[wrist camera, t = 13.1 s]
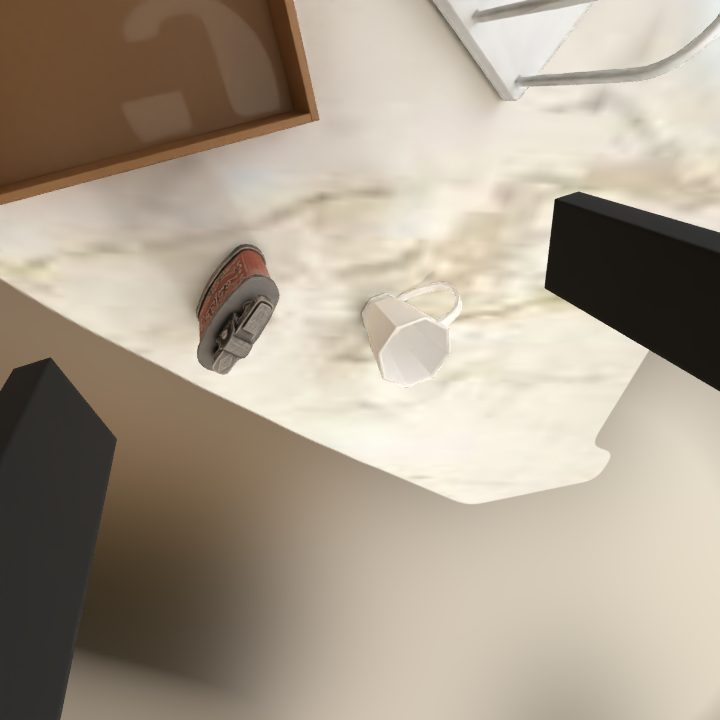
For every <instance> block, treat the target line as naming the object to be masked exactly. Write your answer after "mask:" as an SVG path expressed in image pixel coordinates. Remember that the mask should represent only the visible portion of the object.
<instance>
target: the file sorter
mask: <svg viewBox="0 0 720 720" xmlns="http://www.w3.org/2000/svg"><path fill="white" fill-rule="evenodd" d="M594 1H596V0H433V2H434V3H435V4H436V6H437V7H438V9H439V10H440V11H441V13H442V14H443V16H444V17H445V18H446V20H447V21H448V23H449V24H450V25H451V27H452V28H453V30H454V31H455V32H456V34H457V35H458V37H459V38H460V39H461V41H462V42H463V44H464V45H465V47H466V48H467V49H468V51H469V52H470V54H471V55H472V56H473V58H474V59H475V61H476V62H477V63H478V65H479V66H480V68H481V69H482V71H483V72H484V73H485V75H486V76H487V78H488V79H489V81H490V82H491V83H492V85H493V86H494V88H495V89H496V90H497V92H498V93H499V95H500V96H501V97H502V99H503V100H504V101H517V100H519V99H520V98H521V97H522V95H523V94H524V93H525V91H526V90H527V89H528V88H529V87H530V86H555V85H579V84H600V83H619V82H633V81H642V80H647V79H651V78H654V77H657V76H660V75H663V74H665V73H667V72H669V71H671V70H673V69H675V68H677V67H679V66H680V65H682V64H683V63H685V62H687V61H688V60H690V59H691V58H693V57H694V56H695V55H697V54H698V53H699V52H700V51H702V50H703V49H704V48H706V47H707V46H708V45H709V44H710V43H711V42H712V41H713V40H714V39H715V38H716V37H717V36H718V35H719V34H720V14H719V15H718V17H717V18H716V19H715V20H714V21H713V22H712V23H711V24H710V25H709V26H708V27H707V28H706V29H705V30H704V31H703V32H702V33H701V34H700V35H699V36H698V37H696V38H695V39H694V40H693V41H691V42H690V43H689V44H688V45H686V46H685V47H684V48H682V49H681V50H680V51H678V52H677V53H675V54H673V55H672V56H670V57H668V58H666V59H664V60H661V61H659V62H657V63H654V64H651V65H648V66H643V67H636V68H626V69H611V70H601V71H591V72H575V73H564V74H548V75H538V74H539V73H540V72H541V71H542V69H543V68H544V67H545V65H546V64H547V63H548V61H549V60H550V59H551V57H552V56H553V55H554V54H555V52H556V51H557V50H558V48H559V47H560V46H561V44H562V43H563V42H564V40H565V39H566V38H567V36H568V35H569V34H570V32H571V31H572V30H573V28H574V27H575V26H576V25H577V23H578V22H579V21H580V19H581V18H582V17H583V15H584V14H585V13H586V11H587V10H588V9H589V7H590V6H591V5H592V4H593V2H594Z"/></svg>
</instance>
